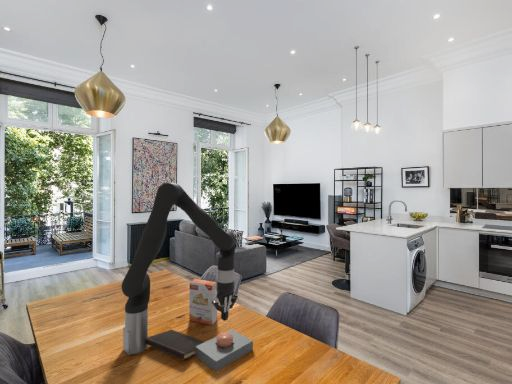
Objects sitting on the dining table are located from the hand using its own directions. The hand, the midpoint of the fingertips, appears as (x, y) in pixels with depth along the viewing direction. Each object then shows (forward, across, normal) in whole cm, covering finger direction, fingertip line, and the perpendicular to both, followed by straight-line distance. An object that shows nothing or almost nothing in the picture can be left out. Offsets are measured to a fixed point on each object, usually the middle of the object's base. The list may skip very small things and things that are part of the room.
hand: (224, 319), depth 116 cm
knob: (+14, 0, 0) cm, 14 cm away
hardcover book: (+14, -12, +18) cm, 26 cm away
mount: (+14, 0, 0) cm, 14 cm away
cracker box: (+15, +10, +30) cm, 35 cm away
